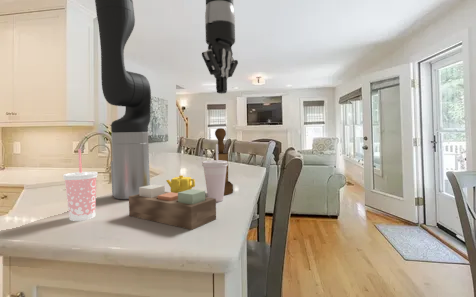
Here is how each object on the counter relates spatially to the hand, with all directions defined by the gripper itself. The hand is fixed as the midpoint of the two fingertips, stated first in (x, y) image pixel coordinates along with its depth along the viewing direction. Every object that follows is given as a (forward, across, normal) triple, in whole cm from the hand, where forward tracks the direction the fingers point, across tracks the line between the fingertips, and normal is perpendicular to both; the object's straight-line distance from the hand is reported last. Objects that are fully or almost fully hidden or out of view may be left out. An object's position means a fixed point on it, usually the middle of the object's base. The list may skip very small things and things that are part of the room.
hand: (221, 92), depth 74 cm
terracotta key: (+25, +21, +2) cm, 33 cm away
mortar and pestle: (+27, -3, -3) cm, 28 cm away
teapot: (+27, +4, -12) cm, 30 cm away
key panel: (+27, +21, +2) cm, 34 cm away
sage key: (+24, +21, +8) cm, 33 cm away
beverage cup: (+27, +30, -14) cm, 43 cm away
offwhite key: (+24, +21, -4) cm, 32 cm away
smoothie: (+27, +5, +1) cm, 28 cm away
